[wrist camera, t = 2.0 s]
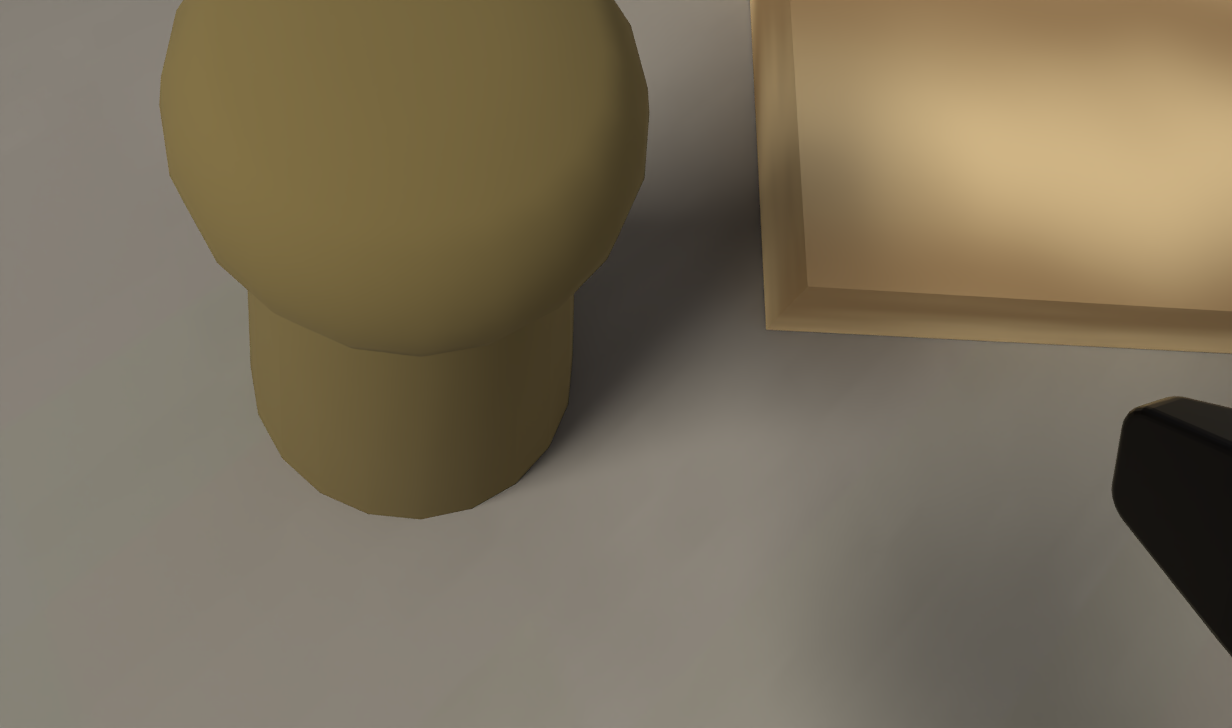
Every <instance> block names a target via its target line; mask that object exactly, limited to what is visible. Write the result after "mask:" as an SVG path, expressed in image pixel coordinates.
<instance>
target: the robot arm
mask: <svg viewBox="0 0 1232 728" xmlns="http://www.w3.org/2000/svg"><path fill="white" fill-rule="evenodd" d="M1112 497H1113V501H1114V504H1115V507H1116V509H1117V511H1118V513H1119V515H1120V517H1121V518H1122V519H1123V521H1124V522H1125V523H1126V525H1127V526H1128V527H1129V528H1130V530H1131V531H1132V532H1133V533H1134V535H1135V536H1136V537H1137V539H1138V540H1139V541H1140V542H1141V544H1142V545H1143V546H1144V547H1145V549H1146V550H1147V551H1148V552H1149V554H1150V555H1151V556H1152V557H1153V559H1154V560H1155V561H1156V563H1157V564H1158V565H1159V566H1160V568H1161V569H1162V570H1163V571H1164V573H1165V574H1166V575H1167V576H1168V578H1169V579H1170V580H1171V581H1172V583H1173V584H1174V585H1175V587H1176V588H1177V589H1178V590H1179V592H1180V593H1181V594H1182V595H1183V597H1184V598H1185V599H1186V600H1187V602H1188V603H1189V604H1190V605H1191V607H1192V608H1193V609H1194V611H1195V612H1196V613H1197V614H1198V616H1199V617H1200V618H1201V619H1202V621H1203V622H1204V623H1205V624H1206V626H1207V627H1208V628H1209V629H1210V631H1211V632H1212V633H1213V635H1214V636H1215V637H1216V638H1217V640H1218V641H1219V642H1220V643H1221V644H1222V646H1223V647H1224V648H1225V649H1226V650H1227V652H1228V653H1229V654H1230V655H1231V656H1232V408H1229V407H1224V406H1220V405H1216V404H1212V403H1207V402H1203V401H1199V400H1195V399H1190V398H1186V397H1180V396H1173V397H1167V398H1163V399H1160V400H1157V401H1154V402H1151V403H1148V404H1145V405H1142V406H1139V407H1136V408H1134V409H1133V410H1131V411H1130V412H1129V413H1128V415H1127V416H1126V417H1125V419H1124V421H1123V425H1122V429H1121V435H1120V441H1119V447H1118V453H1117V458H1116V464H1115V470H1114V476H1113V482H1112Z"/></svg>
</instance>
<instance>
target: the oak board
mask: <svg viewBox="0 0 1232 728" xmlns="http://www.w3.org/2000/svg"><path fill="white" fill-rule="evenodd" d="M750 9H751V30H752V50H753V71H754V91H755V112H756V132H757V153H758V173H759V194H760V214H761V235H762V255H763V276H764V296H765V317H766V330H784V331H803V332H823V333H842V334H862V335H881V336H901V337H920V338H940V339H959V340H978V341H998V342H1017V343H1037V344H1056V345H1076V346H1095V347H1115V348H1134V349H1154V350H1173V351H1192V352H1212V353H1231V354H1232V0H750Z"/></svg>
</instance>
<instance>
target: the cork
mask: <svg viewBox="0 0 1232 728" xmlns="http://www.w3.org/2000/svg"><path fill="white" fill-rule="evenodd" d="M159 105H160V112H161V119H162V126H163V133H164V140H165V146H166V153H167V160H168V167H169V174H170V177H171V179H172V181H173V183H174V185H175V186H176V188H177V190H178V192H179V194H180V196H181V198H182V200H183V202H184V203H185V205H186V207H187V209H188V211H189V213H190V214H191V216H192V218H193V220H194V222H195V223H196V225H197V227H198V229H199V231H200V232H201V234H202V236H203V238H204V240H205V241H206V243H207V245H208V247H209V249H210V250H211V252H212V254H213V256H214V258H215V260H216V261H217V263H218V264H219V265H220V266H222V267H223V268H224V269H225V270H226V271H227V272H228V273H229V274H230V275H232V276H233V277H234V278H235V279H236V280H237V281H238V282H239V283H241V284H242V285H243V286H244V287H245V288H246V289H247V290H248V308H249V335H250V361H251V371H252V377H253V384H254V390H255V396H256V403H257V409H258V415H259V416H260V418H261V420H262V422H263V424H264V426H265V427H266V429H267V431H268V433H269V435H270V437H271V438H272V440H273V442H274V444H275V446H276V448H277V449H278V451H279V453H280V455H281V457H282V458H283V459H284V460H285V461H286V462H287V463H288V464H289V465H290V466H291V467H292V468H294V469H295V470H296V471H297V472H298V473H299V474H300V475H301V476H302V477H304V478H305V479H306V480H307V481H308V482H309V483H310V484H311V485H312V486H313V487H315V488H316V489H317V490H318V491H319V492H320V493H322V494H324V495H326V496H329V497H331V498H333V499H336V500H338V501H340V502H342V503H345V504H347V505H349V506H351V507H354V508H356V509H358V510H360V511H363V512H365V513H367V514H374V515H384V516H394V517H403V518H413V519H424V518H429V517H434V516H439V515H443V514H448V513H453V512H458V511H462V510H467V509H472V508H473V507H475V506H477V505H479V504H480V503H482V502H484V501H486V500H488V499H489V498H491V497H493V496H495V495H496V494H498V493H500V492H502V491H503V490H505V489H507V488H509V487H510V486H512V485H514V484H516V483H517V482H518V480H519V479H520V478H521V477H522V476H523V475H524V474H525V473H526V472H527V471H528V469H529V468H530V467H531V466H532V465H533V464H534V463H535V462H536V461H537V460H538V459H539V457H540V456H541V455H542V454H543V453H544V452H545V451H546V450H547V449H548V448H549V446H550V443H551V441H552V439H553V437H554V434H555V432H556V430H557V428H558V425H559V423H560V421H561V419H562V416H563V414H564V412H565V410H566V407H567V405H568V400H569V389H570V378H571V367H572V354H573V314H574V293H575V292H576V291H577V290H578V289H579V288H580V287H581V286H582V284H583V283H584V282H585V281H586V280H587V279H588V278H589V277H590V276H591V275H592V274H593V273H594V272H595V271H596V270H597V269H598V268H599V267H600V266H601V265H602V264H603V263H604V262H605V261H606V260H607V258H608V256H609V254H610V252H611V250H612V248H613V246H614V244H615V242H616V239H617V237H618V235H619V233H620V231H621V228H622V226H623V224H624V222H625V220H626V217H627V215H628V213H629V211H630V209H631V206H632V204H633V202H634V200H635V198H636V195H637V193H638V191H639V189H640V187H641V184H642V182H643V180H644V176H645V163H646V149H647V136H648V123H649V102H648V87H647V84H646V80H645V76H644V73H643V69H642V65H641V61H640V58H639V54H638V50H637V47H636V43H635V39H634V36H633V32H632V28H631V25H630V23H629V22H628V20H627V19H626V17H625V16H624V14H623V13H622V11H621V10H620V8H619V7H618V5H617V4H616V2H615V1H614V0H183V2H182V3H181V5H180V6H179V8H178V9H177V11H176V15H175V19H174V23H173V28H172V32H171V36H170V41H169V45H168V49H167V54H166V58H165V62H164V67H163V71H162V75H161V87H160V103H159Z"/></svg>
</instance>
